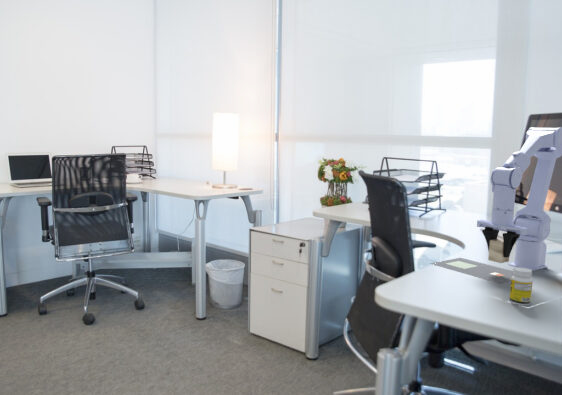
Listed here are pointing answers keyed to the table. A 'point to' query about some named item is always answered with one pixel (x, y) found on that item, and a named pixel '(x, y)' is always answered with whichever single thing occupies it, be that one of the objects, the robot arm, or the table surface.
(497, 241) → the birch block
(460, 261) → the mat
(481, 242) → the table surface
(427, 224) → the table surface
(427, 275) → the table surface
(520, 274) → the supplement bottle
